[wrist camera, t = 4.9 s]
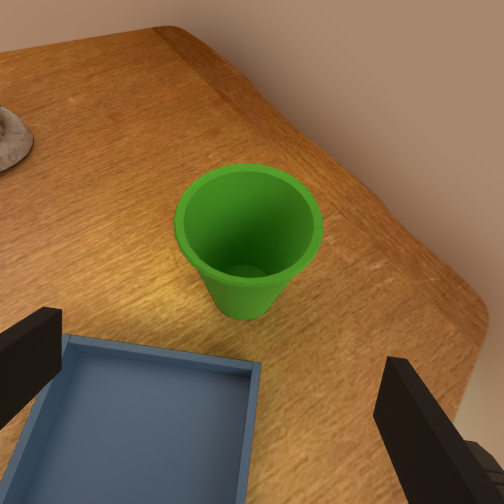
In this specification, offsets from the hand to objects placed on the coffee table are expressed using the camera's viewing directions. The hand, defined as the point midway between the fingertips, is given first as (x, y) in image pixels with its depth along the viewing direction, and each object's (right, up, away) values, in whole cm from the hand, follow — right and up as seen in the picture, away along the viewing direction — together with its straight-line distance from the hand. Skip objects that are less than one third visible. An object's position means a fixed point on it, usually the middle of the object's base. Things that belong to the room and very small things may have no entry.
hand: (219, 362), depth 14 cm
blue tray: (-6, -9, +10) cm, 15 cm away
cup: (+1, +1, +17) cm, 17 cm away
